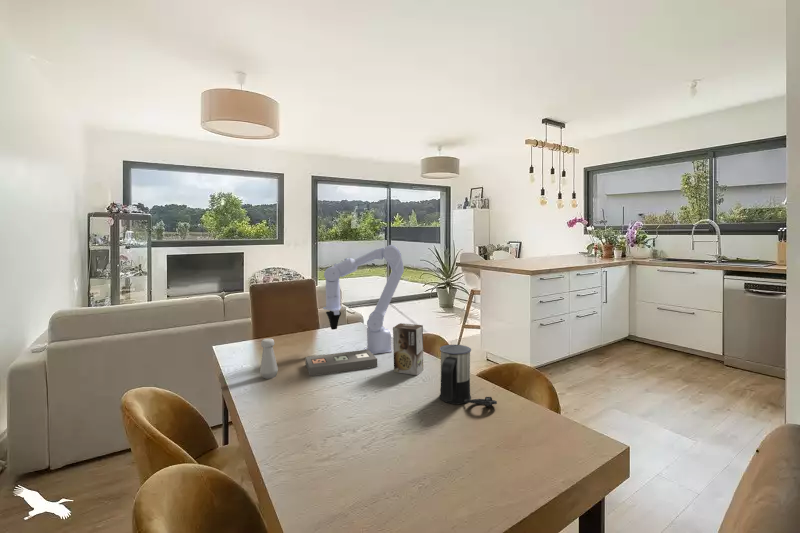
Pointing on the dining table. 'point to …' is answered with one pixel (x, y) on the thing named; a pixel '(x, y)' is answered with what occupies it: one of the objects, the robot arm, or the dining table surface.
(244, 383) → the dining table surface
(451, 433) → the dining table surface
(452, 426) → the dining table surface
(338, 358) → the button two
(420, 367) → the printed cardboard box
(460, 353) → the milk frother
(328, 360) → the button board
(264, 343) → the salt shaker
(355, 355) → the button one
